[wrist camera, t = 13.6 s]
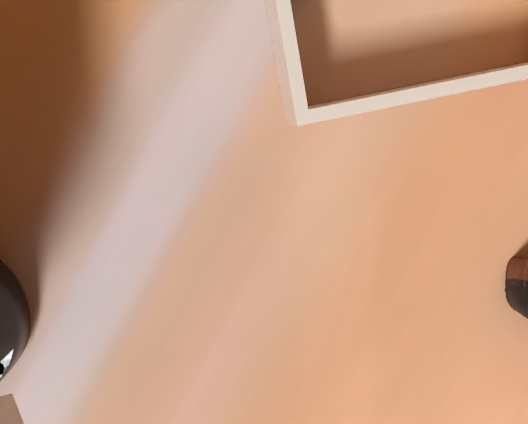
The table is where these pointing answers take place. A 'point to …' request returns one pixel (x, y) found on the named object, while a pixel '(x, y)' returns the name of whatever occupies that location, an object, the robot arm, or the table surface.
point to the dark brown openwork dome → (517, 285)
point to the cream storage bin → (302, 114)
